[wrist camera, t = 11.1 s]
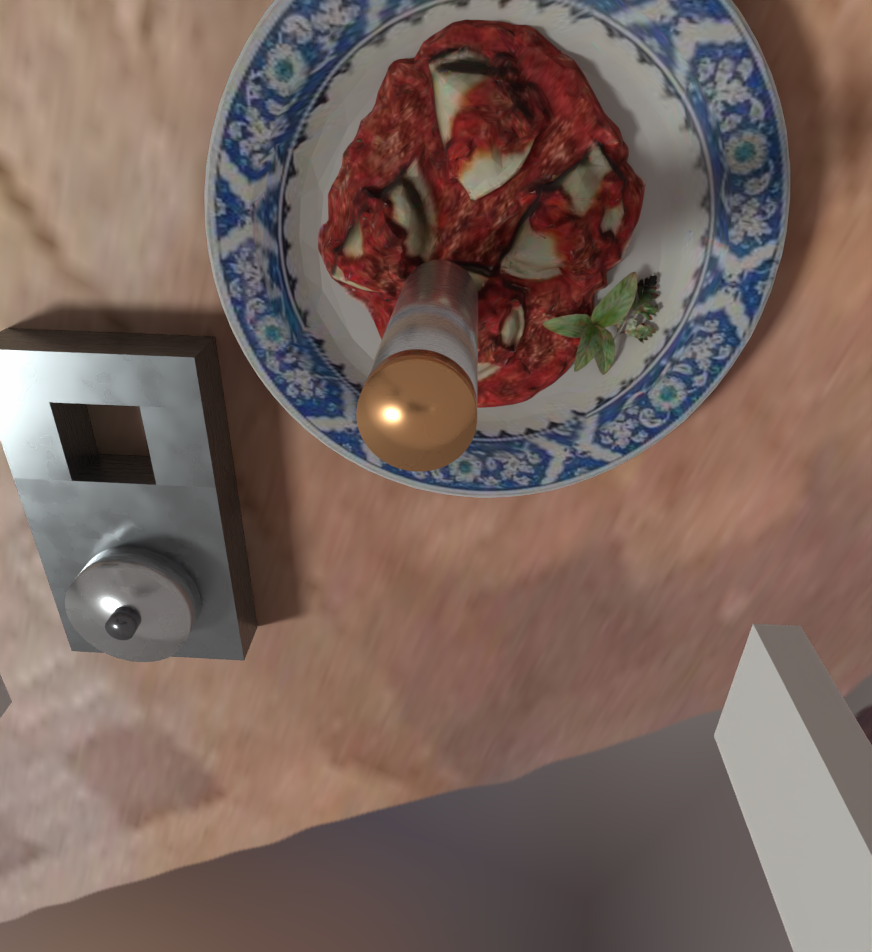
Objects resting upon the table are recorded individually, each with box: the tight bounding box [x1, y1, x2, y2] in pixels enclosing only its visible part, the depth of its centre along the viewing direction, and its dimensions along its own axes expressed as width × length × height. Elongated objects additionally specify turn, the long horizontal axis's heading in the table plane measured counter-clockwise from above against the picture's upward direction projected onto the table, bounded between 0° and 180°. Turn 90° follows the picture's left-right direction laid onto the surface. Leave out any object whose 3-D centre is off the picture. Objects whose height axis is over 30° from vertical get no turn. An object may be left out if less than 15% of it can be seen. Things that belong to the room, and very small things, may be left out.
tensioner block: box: [0, 328, 257, 662], centre depth 38 cm, size 20×11×6 cm, turn 179°
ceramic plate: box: [204, 0, 790, 498], centre depth 31 cm, size 26×26×3 cm
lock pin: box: [356, 260, 478, 472], centre depth 25 cm, size 4×4×13 cm
